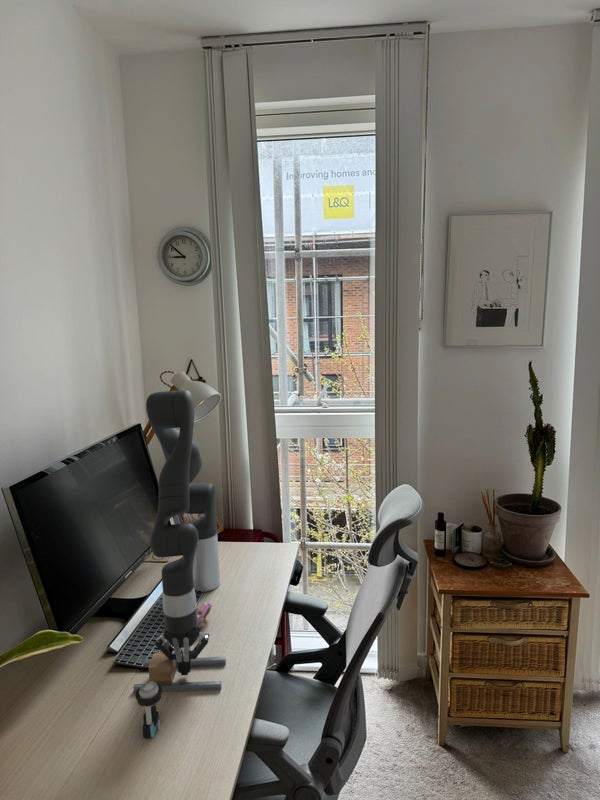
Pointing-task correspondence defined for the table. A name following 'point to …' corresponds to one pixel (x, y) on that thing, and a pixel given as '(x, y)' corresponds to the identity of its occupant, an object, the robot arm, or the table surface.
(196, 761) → the table surface
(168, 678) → the walnut block
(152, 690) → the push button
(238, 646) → the table surface
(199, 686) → the rail channel
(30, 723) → the table surface
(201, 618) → the pink irregular rounded piece
